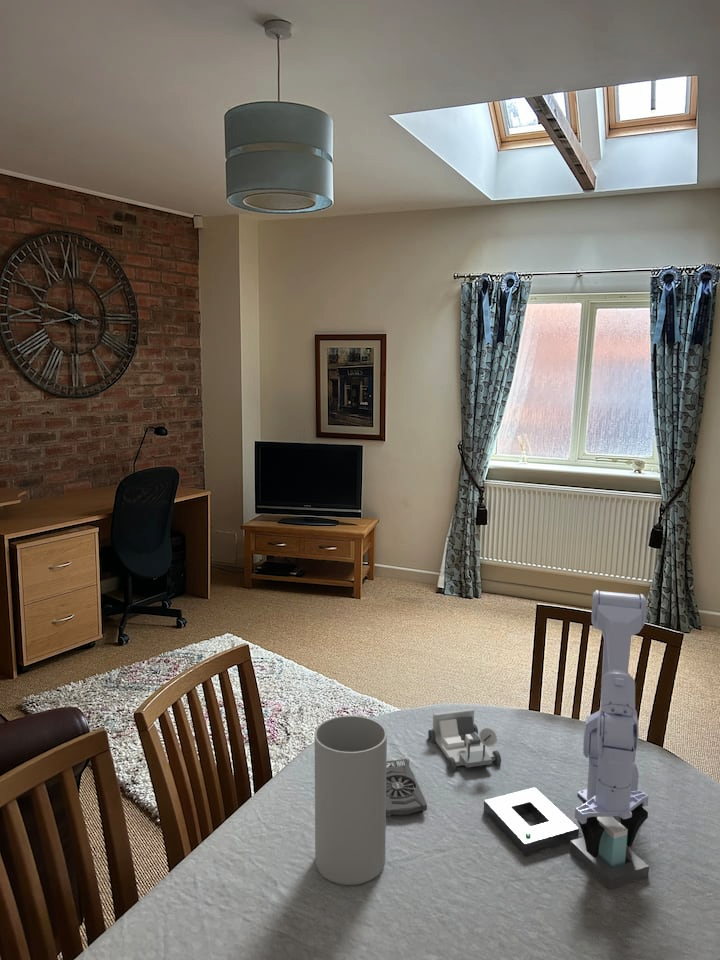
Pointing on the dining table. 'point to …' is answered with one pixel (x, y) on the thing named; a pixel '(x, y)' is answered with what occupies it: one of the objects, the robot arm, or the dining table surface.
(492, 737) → the toy car
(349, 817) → the cylinder vase
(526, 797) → the port panel
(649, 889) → the dining table surface
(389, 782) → the graphics card
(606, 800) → the robot arm
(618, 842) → the plug
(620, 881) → the holster
